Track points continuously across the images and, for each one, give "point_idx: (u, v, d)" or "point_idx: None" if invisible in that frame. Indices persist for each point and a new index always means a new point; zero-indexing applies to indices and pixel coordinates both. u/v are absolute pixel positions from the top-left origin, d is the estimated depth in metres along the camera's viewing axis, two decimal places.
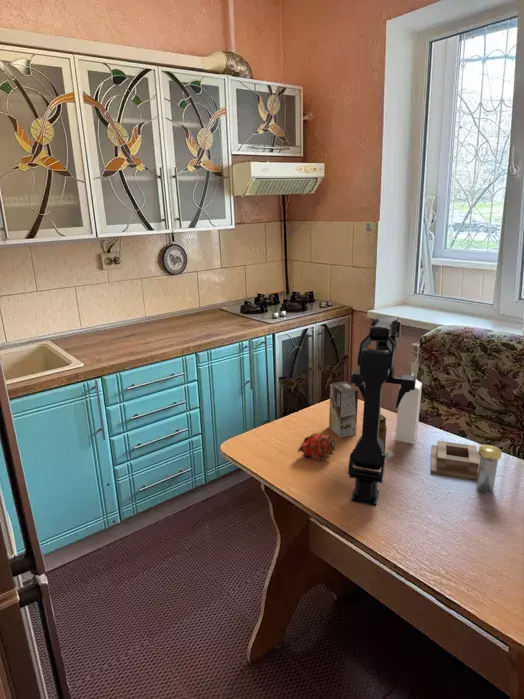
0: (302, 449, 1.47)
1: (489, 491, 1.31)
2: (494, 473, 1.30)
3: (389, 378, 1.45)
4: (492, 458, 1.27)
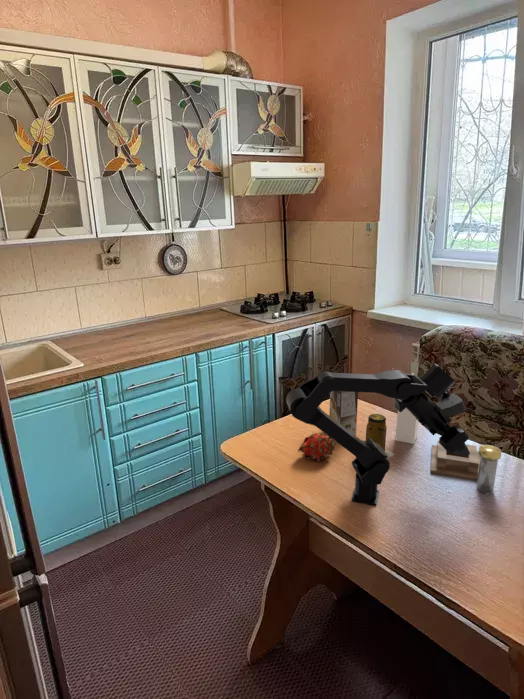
0: (302, 449, 1.47)
1: (489, 491, 1.31)
2: (494, 473, 1.30)
3: (431, 433, 1.24)
4: (492, 458, 1.27)
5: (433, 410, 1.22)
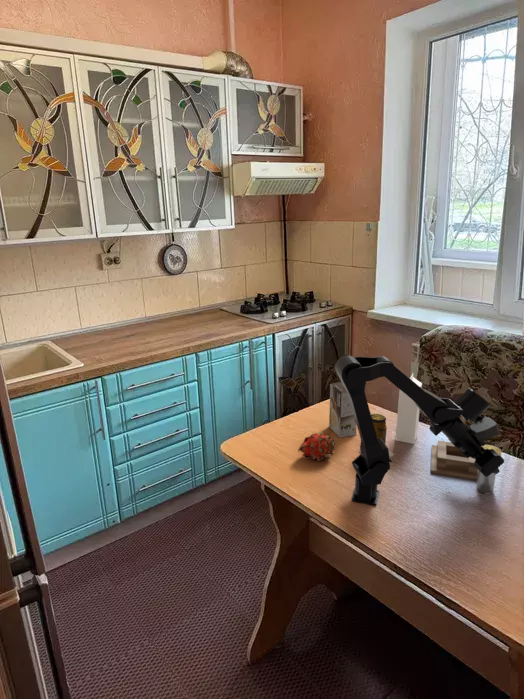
0: (302, 449, 1.47)
1: (489, 491, 1.31)
2: None
3: (465, 455, 1.27)
4: None
5: (468, 433, 1.25)
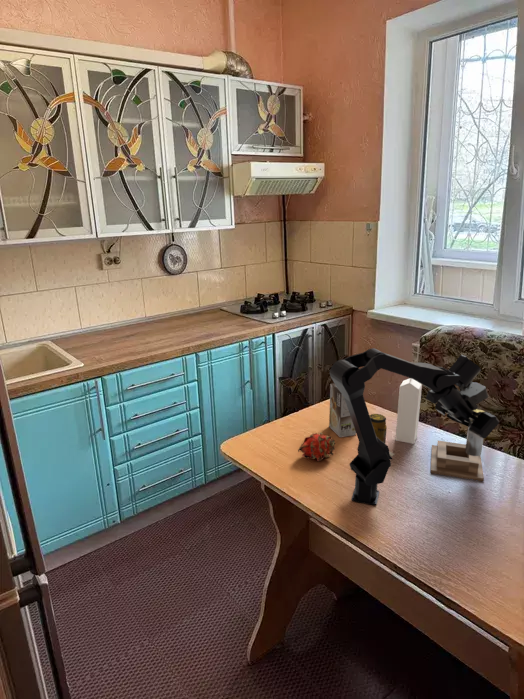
0: (302, 449, 1.47)
1: (479, 453, 1.36)
2: None
3: (460, 421, 1.31)
4: None
5: (463, 399, 1.28)
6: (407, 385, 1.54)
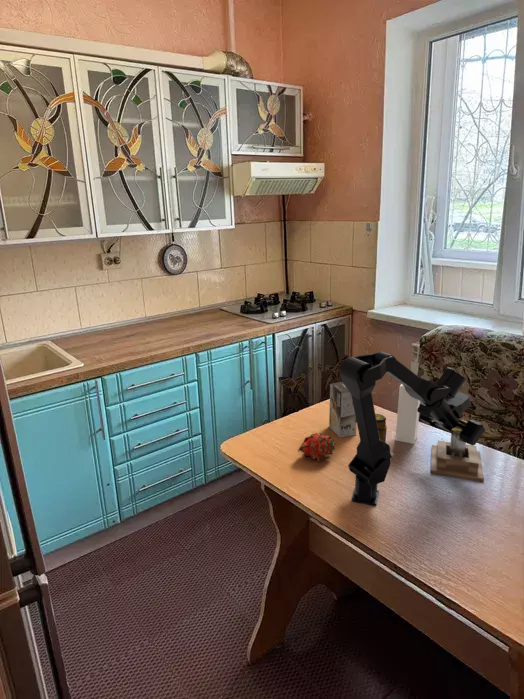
0: (302, 449, 1.47)
1: None
2: (465, 444, 1.43)
3: (448, 430, 1.37)
4: None
5: (451, 409, 1.34)
6: None
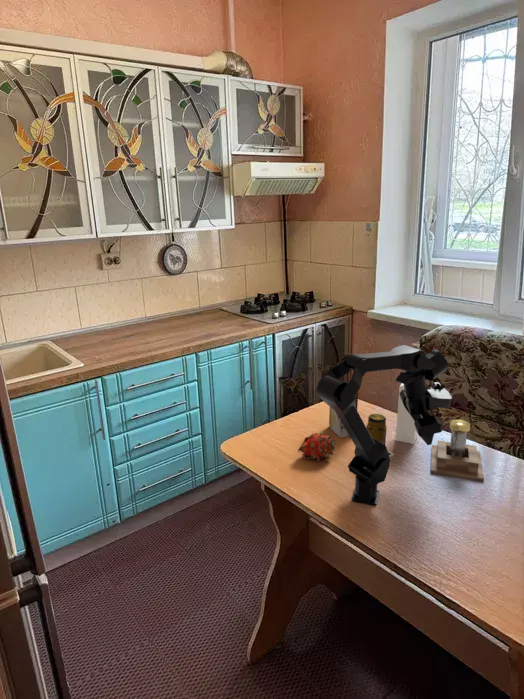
0: (302, 449, 1.47)
1: None
2: (465, 444, 1.43)
3: (410, 412, 1.31)
4: (465, 431, 1.40)
5: (424, 394, 1.28)
6: None
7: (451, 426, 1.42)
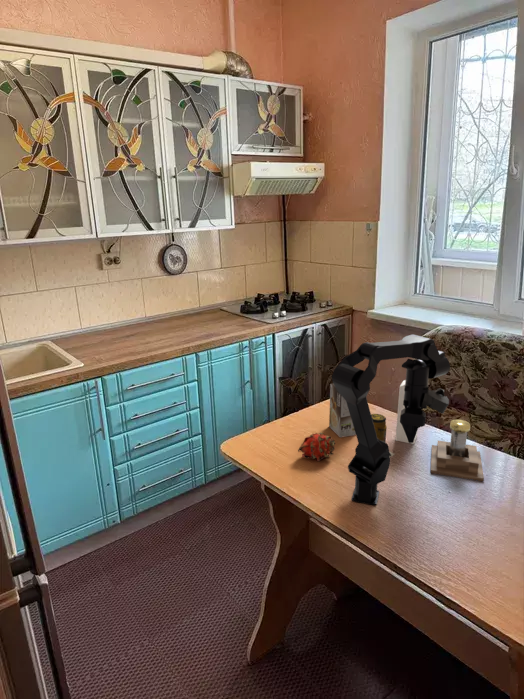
0: (302, 449, 1.47)
1: None
2: (465, 444, 1.43)
3: (403, 402, 1.32)
4: (465, 430, 1.40)
5: (422, 388, 1.29)
6: None
7: (451, 426, 1.42)
